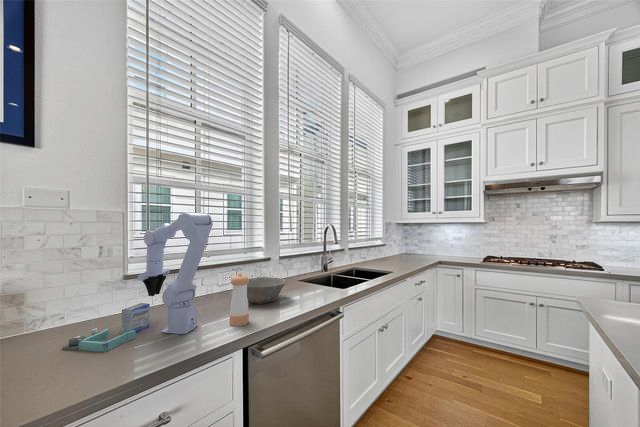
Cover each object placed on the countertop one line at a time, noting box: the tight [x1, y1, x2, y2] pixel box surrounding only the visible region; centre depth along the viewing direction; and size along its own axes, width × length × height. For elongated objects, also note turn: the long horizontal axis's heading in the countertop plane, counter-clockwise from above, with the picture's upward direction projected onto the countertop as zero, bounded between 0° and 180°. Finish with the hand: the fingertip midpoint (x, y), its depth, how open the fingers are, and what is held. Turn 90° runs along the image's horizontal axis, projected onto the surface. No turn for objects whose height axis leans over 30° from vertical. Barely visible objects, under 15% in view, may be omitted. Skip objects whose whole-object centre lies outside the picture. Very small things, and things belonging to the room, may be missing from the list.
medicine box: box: [120, 302, 151, 334], centre depth 99 cm, size 8×4×9 cm, turn 168°
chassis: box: [62, 327, 137, 353], centre depth 88 cm, size 16×11×3 cm
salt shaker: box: [229, 273, 250, 327], centre depth 107 cm, size 7×7×19 cm
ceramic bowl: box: [247, 276, 287, 305], centre depth 135 cm, size 22×23×10 cm
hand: (154, 295), depth 107 cm, fingers open, 2 cm apart
